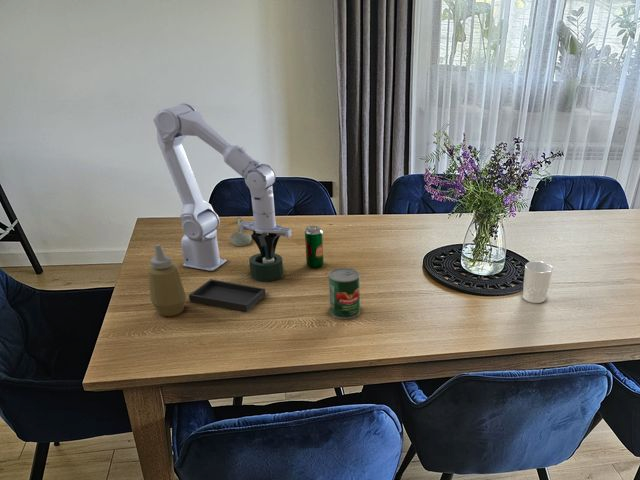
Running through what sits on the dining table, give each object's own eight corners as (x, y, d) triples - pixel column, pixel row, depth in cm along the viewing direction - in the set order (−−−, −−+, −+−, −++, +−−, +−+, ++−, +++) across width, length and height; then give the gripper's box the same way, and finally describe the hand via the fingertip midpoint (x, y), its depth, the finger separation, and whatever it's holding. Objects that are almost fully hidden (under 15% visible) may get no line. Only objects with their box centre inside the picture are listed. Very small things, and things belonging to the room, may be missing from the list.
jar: (245, 278, 174) (243, 262, 171) (260, 266, 181) (258, 250, 179) (274, 283, 173) (273, 267, 170) (288, 271, 180) (287, 255, 177)
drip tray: (190, 301, 160) (188, 294, 159) (211, 285, 168) (210, 279, 167) (247, 312, 158) (246, 305, 157) (265, 295, 166) (265, 288, 165)
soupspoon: (229, 249, 191) (252, 248, 194) (229, 239, 190) (251, 239, 192) (229, 221, 208) (249, 221, 211) (228, 212, 207) (249, 212, 209)
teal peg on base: (261, 269, 174) (259, 246, 171) (266, 264, 177) (264, 242, 173) (271, 270, 174) (269, 248, 170) (277, 266, 177) (275, 244, 173)
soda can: (319, 270, 182) (317, 232, 176) (303, 267, 183) (301, 229, 177) (326, 263, 187) (324, 226, 180) (310, 261, 187) (308, 224, 181)
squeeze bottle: (195, 307, 157) (183, 242, 148) (172, 321, 151) (159, 254, 141) (169, 301, 159) (156, 236, 150) (146, 314, 153) (131, 247, 143)
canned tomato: (346, 322, 158) (345, 284, 152) (323, 312, 161) (321, 274, 155) (366, 311, 164) (366, 273, 158) (343, 301, 167) (343, 265, 161)
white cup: (529, 306, 174) (534, 274, 169) (515, 294, 180) (520, 263, 174) (552, 301, 177) (558, 270, 172) (537, 290, 183) (542, 259, 178)
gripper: (231, 211, 164) (237, 258, 171) (281, 219, 162) (285, 266, 169) (244, 203, 170) (250, 248, 177) (293, 211, 168) (296, 256, 175)
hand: (268, 256), depth 174 cm, fingers closed on teal peg on base
